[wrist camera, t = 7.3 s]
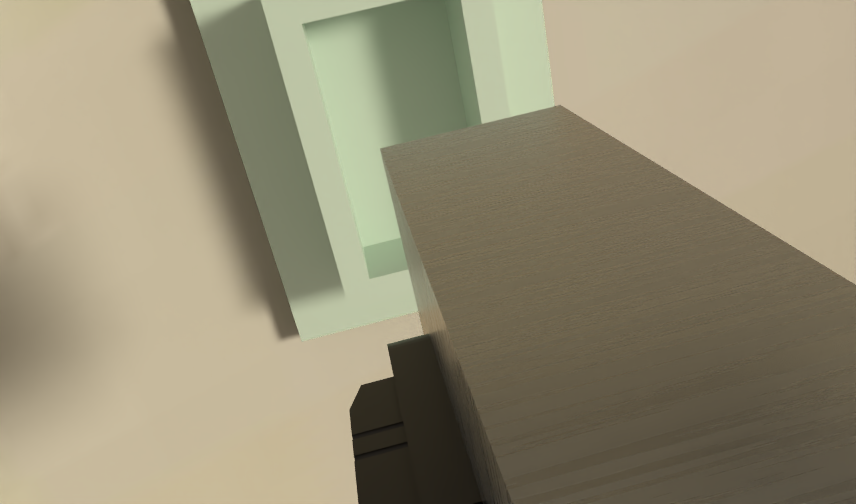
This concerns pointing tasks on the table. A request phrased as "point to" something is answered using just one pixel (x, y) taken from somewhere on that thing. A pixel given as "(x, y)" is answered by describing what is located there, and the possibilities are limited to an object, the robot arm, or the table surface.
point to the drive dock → (358, 125)
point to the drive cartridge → (621, 325)
